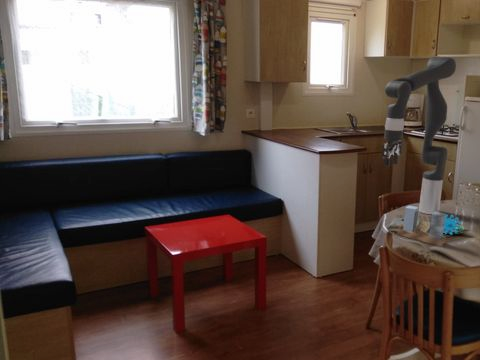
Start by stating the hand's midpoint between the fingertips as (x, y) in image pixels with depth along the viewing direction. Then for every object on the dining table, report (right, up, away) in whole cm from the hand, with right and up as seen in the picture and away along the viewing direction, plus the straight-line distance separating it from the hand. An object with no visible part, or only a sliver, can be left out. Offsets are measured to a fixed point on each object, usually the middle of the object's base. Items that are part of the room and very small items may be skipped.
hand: (390, 165), depth 193 cm
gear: (+25, -30, -1) cm, 39 cm away
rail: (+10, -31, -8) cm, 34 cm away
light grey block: (+6, -28, -5) cm, 29 cm away
